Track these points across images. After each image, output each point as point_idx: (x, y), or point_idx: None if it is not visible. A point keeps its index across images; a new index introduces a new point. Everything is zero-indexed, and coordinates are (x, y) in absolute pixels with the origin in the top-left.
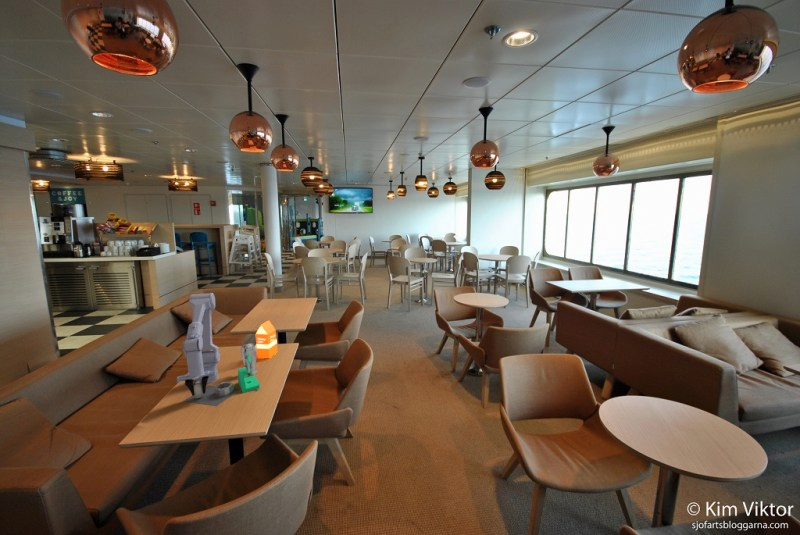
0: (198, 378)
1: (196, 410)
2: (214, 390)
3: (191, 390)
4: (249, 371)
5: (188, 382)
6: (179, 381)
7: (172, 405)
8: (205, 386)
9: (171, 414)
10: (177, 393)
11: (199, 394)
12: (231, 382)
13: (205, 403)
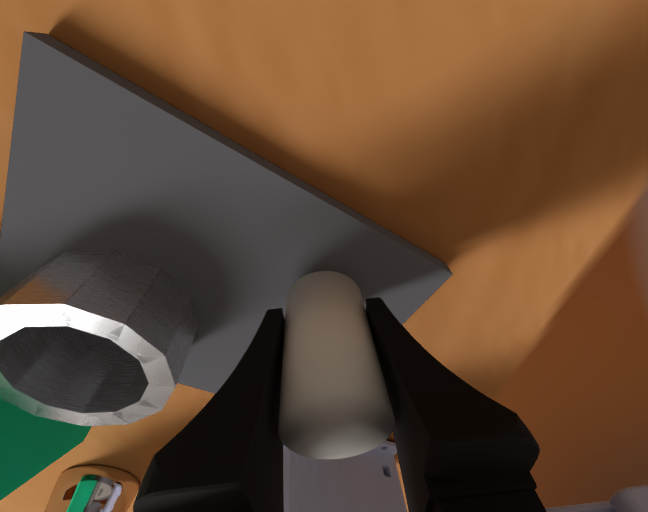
0: (384, 480)
1: (293, 77)
2: (235, 360)
3: (397, 336)
4: (72, 500)
5: (475, 461)
6: (642, 502)
7: (518, 252)
8: (233, 371)
9: (535, 82)
10: (485, 383)
11: (311, 295)
12: (26, 408)
13: (220, 163)
